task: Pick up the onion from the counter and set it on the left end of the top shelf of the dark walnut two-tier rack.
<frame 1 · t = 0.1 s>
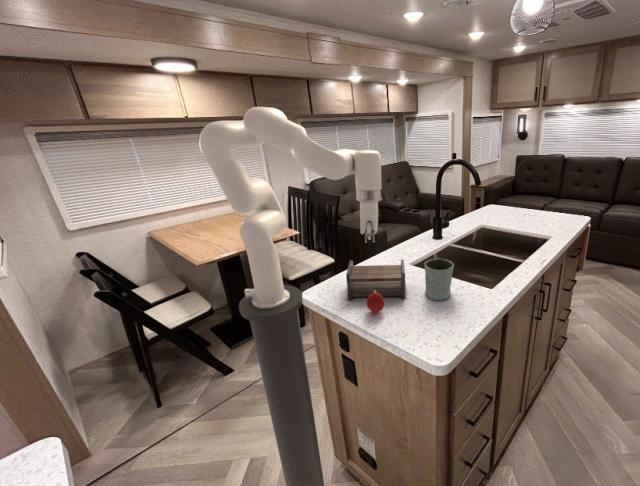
hand: (371, 248, 101), 21 cm above the countertop, tool pointing down, fingers open, 9 cm apart
green cup: (437, 294, 116), on the countertop
rack: (377, 291, 118), on the countertop
onion: (376, 312, 105), on the countertop
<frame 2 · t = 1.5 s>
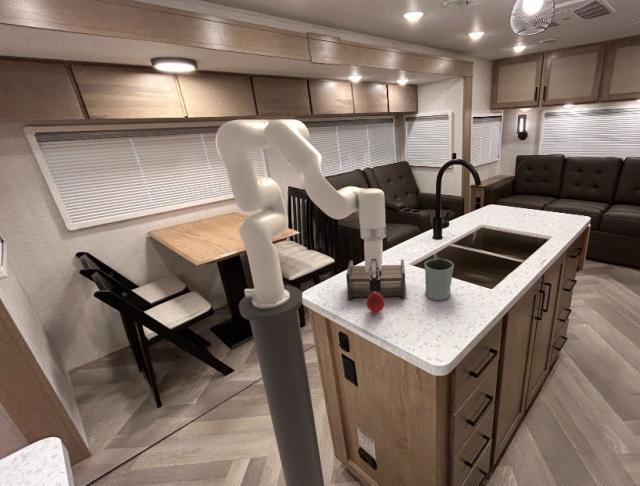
hand: (376, 283, 101), 11 cm above the countertop, tool pointing down, fingers open, 9 cm apart
nothing on the countertop moved.
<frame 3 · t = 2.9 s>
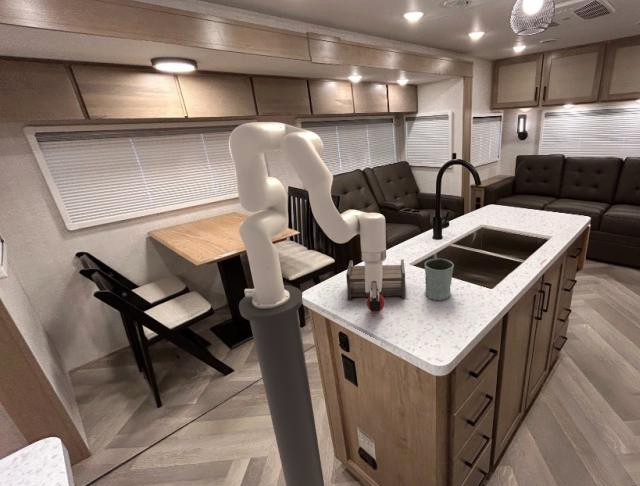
hand: (375, 304, 104), 3 cm above the countertop, tool pointing down, fingers closed on onion, 5 cm apart
onion: (376, 312, 105), on the countertop, touching gripper
everything else where it was.
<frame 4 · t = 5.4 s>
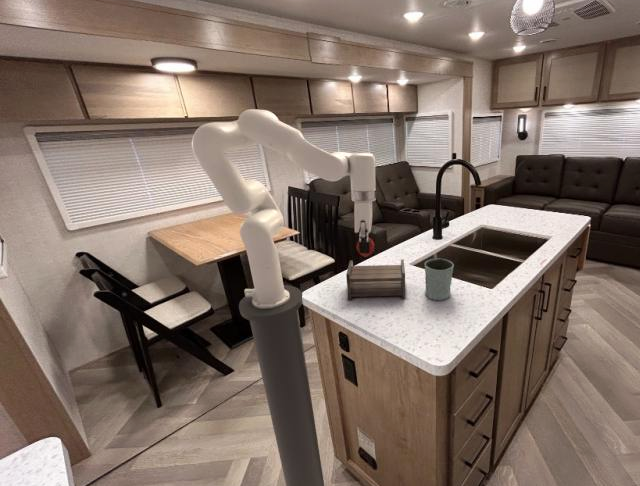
hand: (365, 248, 106), 19 cm above the countertop, tool pointing down, fingers closed on onion, 5 cm apart
onion: (365, 257, 107), point 16 cm above the countertop, touching gripper
everything else where it was.
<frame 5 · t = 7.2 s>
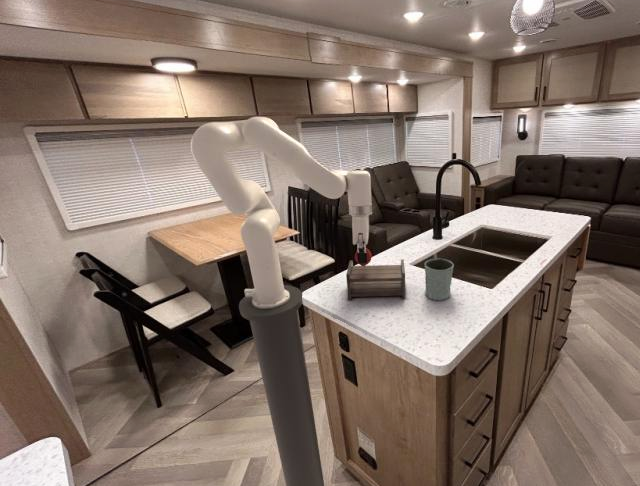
hand: (363, 258, 113), 13 cm above the countertop, tool pointing down, fingers closed on onion, 5 cm apart
onion: (363, 266, 114), point 10 cm above the countertop, touching gripper
everything else where it was.
when the fingers open (11 cm above the countertop, at t = 8.3 s): onion stays where it is, resting on rack.
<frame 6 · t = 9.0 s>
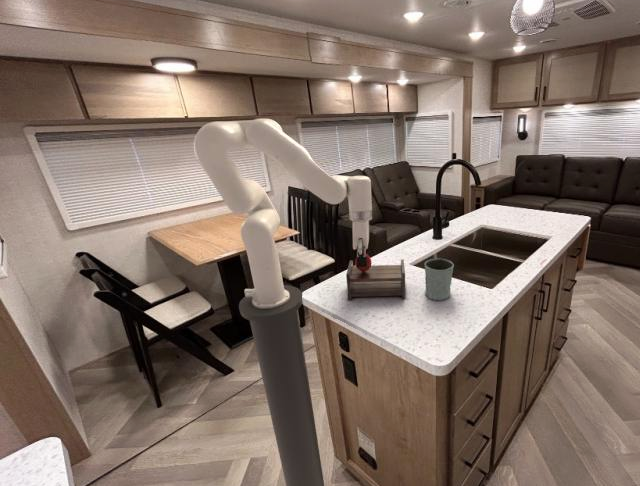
hand: (363, 261, 113), 12 cm above the countertop, tool pointing down, fingers open, 9 cm apart
onion: (363, 272, 115), point 8 cm above the countertop, touching rack
everything else where it was.
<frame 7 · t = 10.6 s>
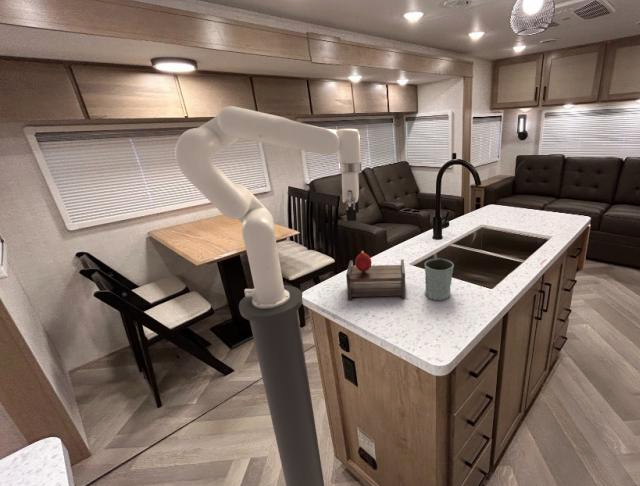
hand: (353, 216, 115), 26 cm above the countertop, tool pointing down, fingers open, 9 cm apart
nothing on the countertop moved.
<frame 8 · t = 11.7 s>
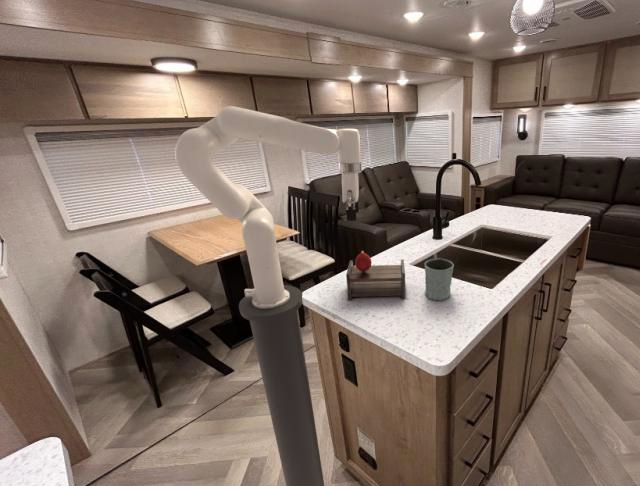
hand: (353, 216, 115), 26 cm above the countertop, tool pointing down, fingers open, 9 cm apart
nothing on the countertop moved.
at the end: onion inside the target area on the rack (0.2 cm from its centre), point 7.8 cm above the rack's base; the gripper is holding nothing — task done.
